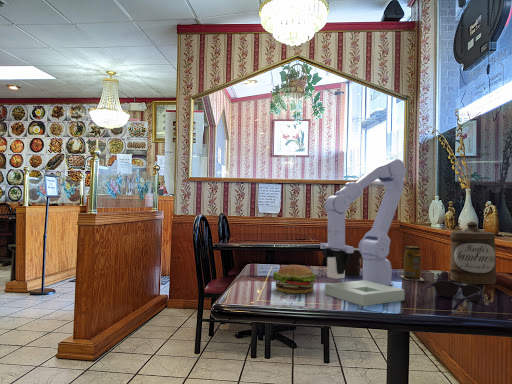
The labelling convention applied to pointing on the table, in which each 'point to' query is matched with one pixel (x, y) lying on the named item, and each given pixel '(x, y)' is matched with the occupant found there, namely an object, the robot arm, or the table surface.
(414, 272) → the condiment
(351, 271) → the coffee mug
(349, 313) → the table surface
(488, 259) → the wooden container
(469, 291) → the sunglasses
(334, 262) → the block
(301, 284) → the food
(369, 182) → the robot arm
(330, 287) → the pale green square slab
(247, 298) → the table surface
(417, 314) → the table surface
